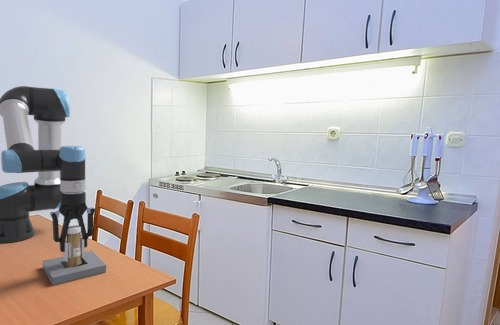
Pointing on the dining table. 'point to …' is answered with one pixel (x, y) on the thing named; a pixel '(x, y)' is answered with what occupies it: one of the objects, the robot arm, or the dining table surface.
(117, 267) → the dining table surface
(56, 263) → the socket plate
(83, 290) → the dining table surface
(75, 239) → the sprinkles bottle
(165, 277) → the dining table surface
